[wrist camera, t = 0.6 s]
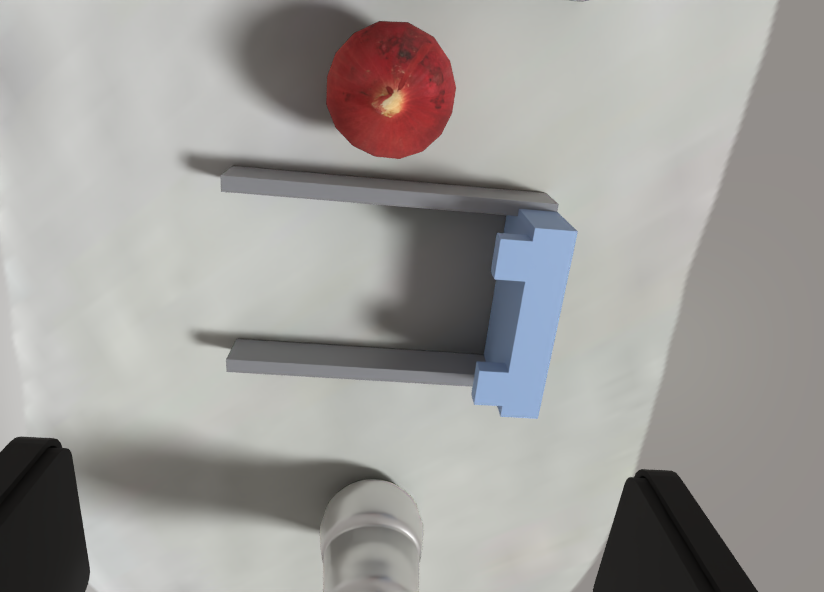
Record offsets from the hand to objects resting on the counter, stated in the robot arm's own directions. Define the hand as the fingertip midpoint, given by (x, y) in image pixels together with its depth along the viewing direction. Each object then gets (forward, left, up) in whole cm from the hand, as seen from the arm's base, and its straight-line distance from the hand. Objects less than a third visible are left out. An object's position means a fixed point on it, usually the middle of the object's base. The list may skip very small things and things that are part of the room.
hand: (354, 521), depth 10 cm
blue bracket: (+5, +8, -24) cm, 26 cm away
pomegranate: (-6, 0, -24) cm, 25 cm away
